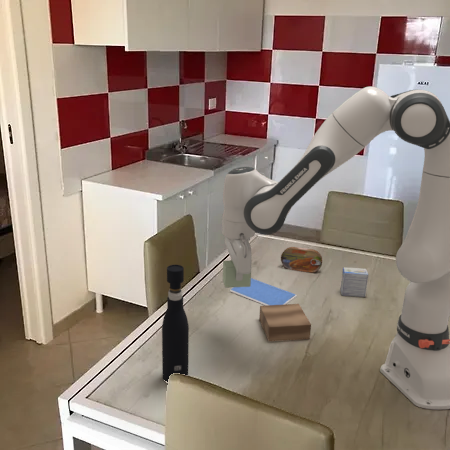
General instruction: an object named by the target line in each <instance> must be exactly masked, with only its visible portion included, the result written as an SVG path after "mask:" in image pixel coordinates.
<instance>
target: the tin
mask: <svg viewBox="0 0 450 450" xmlns="http://www.w3.org/2000/svg"><path fill="white" fill-rule="evenodd" d="M280 263H281V264H282V266H283V267H284V268H286V269H288V270H289V271H290V270H291V271H296V272H303V273H305V272H306V273H316V272H318V271H319V270H320V269H321V267H322V265H323V257H322V255H321V253H320V252H319V251H318V250H315V249H314V248H313V249H311V248H304V247H296V246H289V247H287V248H285V249H284V250H283V251H282V252H281V254H280Z"/></svg>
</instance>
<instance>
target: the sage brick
mask: <svg viewBox="0 0 450 450" xmlns="http://www.w3.org/2000/svg"><path fill="white" fill-rule="evenodd" d="M235 273H236V269H235V266H234V264H233V262H232V260H231V259H230V260H229V259H228V260H223V261H222V283H223V285H224V288H225V289H227V288H230V289H231V288H233V287H250V286H251V278H252V271H251V272H250V274H243V279H242V280H241V281H237V280H236V278H235Z"/></svg>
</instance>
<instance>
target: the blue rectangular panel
mask: <svg viewBox="0 0 450 450" xmlns="http://www.w3.org/2000/svg"><path fill="white" fill-rule="evenodd" d="M229 292H230V293H231V294H232V293H233V294H235V295H237V296H240V297H243V298H246V299H248V300H251V301H253V302H256V303H258V304H260V305H262V306H266V305H285V304H290V303H291V301H293V300H295V299H296V298H297V294H295V293H293V292H291V291H287V290H285V289H282V288H279V287H276V286H274V285H272V284H268V283H266V282H263V281H260V280H257V279H255V278H252V277H251V286H250V287H231V288H230V289H229Z"/></svg>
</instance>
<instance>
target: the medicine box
mask: <svg viewBox="0 0 450 450" xmlns="http://www.w3.org/2000/svg"><path fill="white" fill-rule="evenodd" d="M368 281H369V273H368V270H367V268H360V267H347V266H346V267H342V274H341V280H340V294H341V296H346V297H359V298H361V297H362V298H366V297H367V296H366V295H367V287H368Z"/></svg>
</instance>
